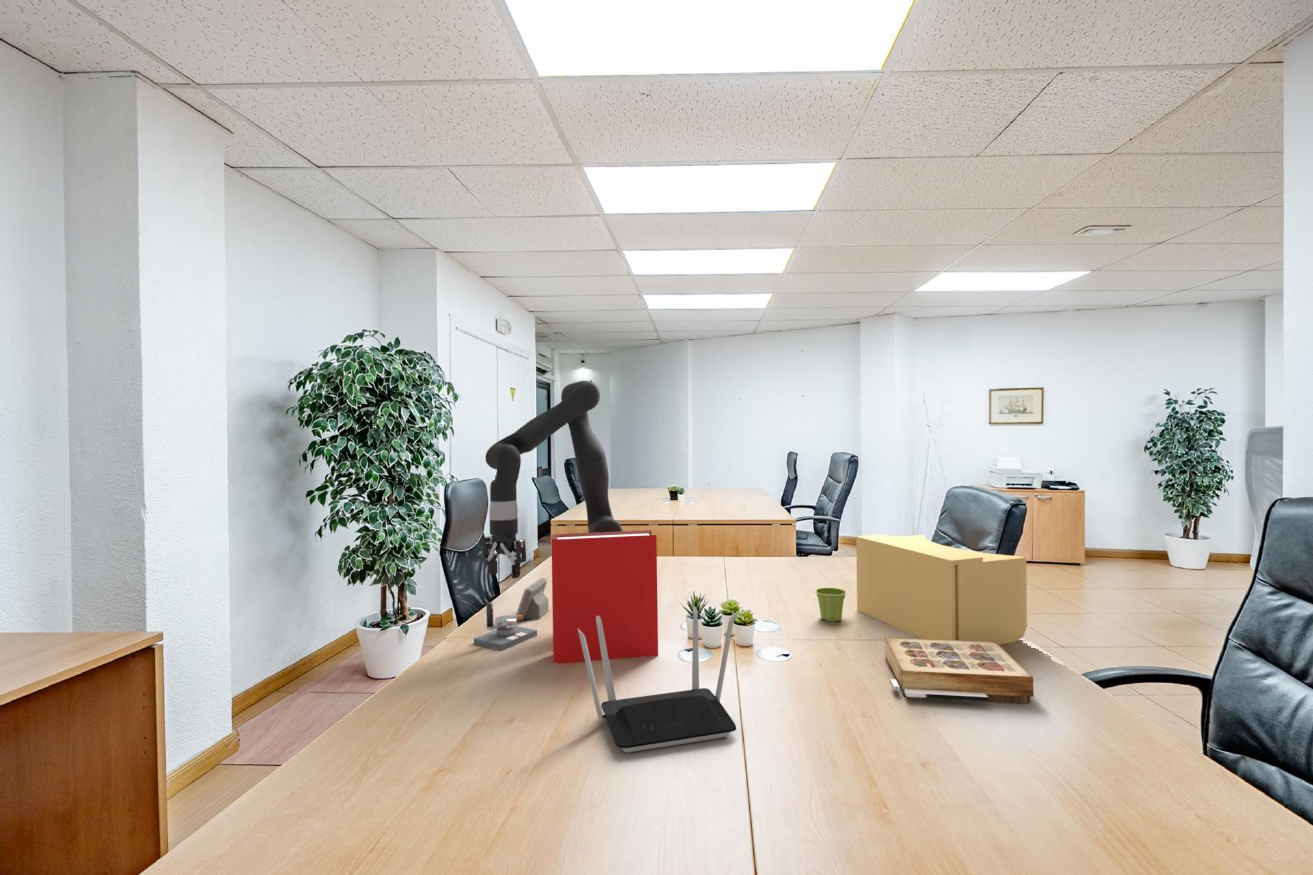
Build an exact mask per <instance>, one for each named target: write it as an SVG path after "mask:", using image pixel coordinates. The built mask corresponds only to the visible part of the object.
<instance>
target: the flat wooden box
mask: <svg viewBox="0 0 1313 875" xmlns="http://www.w3.org/2000/svg"><path fill="white" fill-rule="evenodd" d="M883 639H884V640H883V641H884V646H883V648H884V657H885V663H886V665H887V666H888V669H889V670H891V671H893V674H894V675H895V677H896V678H894V679H892V678H890V679H889V681H890V685H891V687H892V689H893V691H900V693H901V695H902V696H903V697H909V698H919V699H934V700H946V701H947V700H948V701H961V702H962V701H979V702H981V701H982V702H993V703H998V704H999V703H1004V704H1006V703H1007V704H1017V703H1018V704H1025V703H1030V702H1031V697H1032V698H1033V697H1034V696H1035V695H1034V676H1033V675H1032V674H1031V673H1029V671H1027V670H1026V669H1025V668H1024V667H1023V666H1022V665H1021V664H1020V663H1019V662H1018V661H1016V660H1015V658H1014V657H1012V656H1011V655H1010V654H1009V653H1008V652H1007V651H1006V650H1005V649H1004V648H1002V646H1000V644H999V645H998V644H997V643H996V642H984V641H957V640H930V639H922V638H900V637H884V638H883ZM898 682H899V683H898Z"/></svg>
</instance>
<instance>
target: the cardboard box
mask: <svg viewBox="0 0 1313 875" xmlns="http://www.w3.org/2000/svg"><path fill="white" fill-rule="evenodd" d="M855 538H856V539H855V541H856V543H855V545H856V549H855V550H856V552H855V553H856V610H857V611H859V612H860V613H862V614H865V615H868V616H870V617H871V618H874V619H877V620H879V621H881V622H884V623H886V624H888V625H890V626H892V627H895V628H897V629H900V630H901V631H904V632H906V633H909V634H911V635H913V636H915V637H918V638H919V639H930V640H957V641H984V642H996V643H997V644H998V645H999V646H1000V645H1003V644H1004V645H1005V644H1010V643H1016V642H1018V641H1019V640H1021V639H1022V638H1023V637H1025V633H1026V631H1027V627H1028V613H1027V612H1028V608H1027V607H1028V606H1027V605H1028V604H1027V603H1028V602H1027V600H1028V599H1027V596H1028V595H1027V594H1028V593H1027V592H1028V591H1027V557H1026V556H1022V555H1021V556H1020V555H1009V554H1007V555H1006V554H999V553H987V552H981V551H976V550H968V549H962V548H957V547H952V546H948V545H943V544H940V543H936V542H934V541H931V540H928V539H927V538H926V537H925V535H922V534H916V535H914V534H913V535H905V536H904V535H903V536H892V535H888V534H873V535H872V534H870V535H858V536H856V537H855Z"/></svg>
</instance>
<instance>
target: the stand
mask: <svg viewBox="0 0 1313 875" xmlns="http://www.w3.org/2000/svg"><path fill="white" fill-rule="evenodd" d="M536 636H538V630H537V629H533V628H528V627H523V626H519V625H516V626H515V627H513V628H508V629H498V628H496V629H494V630H491V631H490V632H487V633H483V634H482V635H479V636H476V637H474V638H473V644H474V645H479V646H481V647H486V648H490V649H494V650H498V651H504V650H507V649H509V648H511V647H514V646H516V645H519V644H520V643H523V642H524V641H528V640H529V639H532V638H534V637H536Z"/></svg>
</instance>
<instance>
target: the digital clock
mask: <svg viewBox="0 0 1313 875" xmlns="http://www.w3.org/2000/svg"><path fill="white" fill-rule="evenodd" d="M547 583H548V580H547V578H545V577H541V578H538V579H537V580H535V581H534V582H533V583H531V584H530V585H529V586H526V588H525V589H524V591H523V593H522V596H521V599H520V603H519V605H518V608H517V612H516V614H515V616H516V615H523V619H520V620H517V621H519V622H521V621H524V620H540V619H541V618H542V617H544V616H545V614H547V613H548V612H549V597H547V596H546V595H545V593H544V592H545V589H546V586H547Z"/></svg>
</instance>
